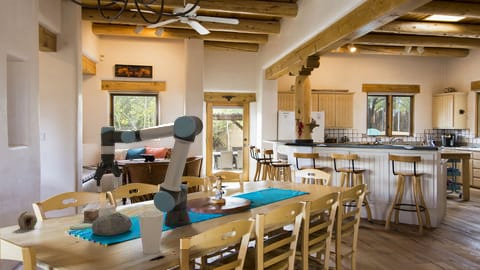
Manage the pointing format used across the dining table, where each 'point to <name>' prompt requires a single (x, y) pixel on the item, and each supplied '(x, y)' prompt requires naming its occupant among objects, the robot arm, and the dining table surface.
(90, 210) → the walnut block
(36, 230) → the dining table surface
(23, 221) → the grey rounded ring
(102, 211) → the mug
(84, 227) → the coaster
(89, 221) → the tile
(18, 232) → the dining table surface
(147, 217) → the cup
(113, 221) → the decorative stone
